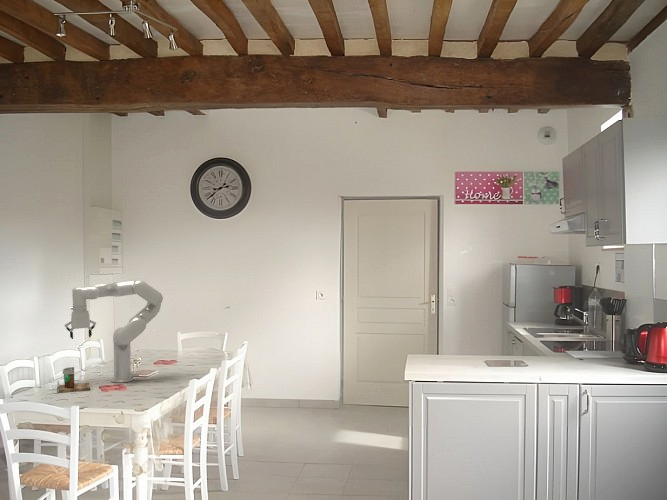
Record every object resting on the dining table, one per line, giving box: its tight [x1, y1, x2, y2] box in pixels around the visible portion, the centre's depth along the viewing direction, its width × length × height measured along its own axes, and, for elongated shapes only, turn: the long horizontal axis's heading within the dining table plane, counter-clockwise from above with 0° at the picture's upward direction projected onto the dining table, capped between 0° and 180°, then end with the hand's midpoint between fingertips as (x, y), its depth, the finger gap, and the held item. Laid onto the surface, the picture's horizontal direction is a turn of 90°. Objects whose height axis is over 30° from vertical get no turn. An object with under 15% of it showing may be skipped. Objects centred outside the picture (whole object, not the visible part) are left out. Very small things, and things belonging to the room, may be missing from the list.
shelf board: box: [56, 381, 91, 394], centre depth 393 cm, size 17×16×4 cm
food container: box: [62, 366, 75, 388], centre depth 392 cm, size 12×6×10 cm, turn 20°
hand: (81, 337), depth 408 cm, fingers open, 9 cm apart
